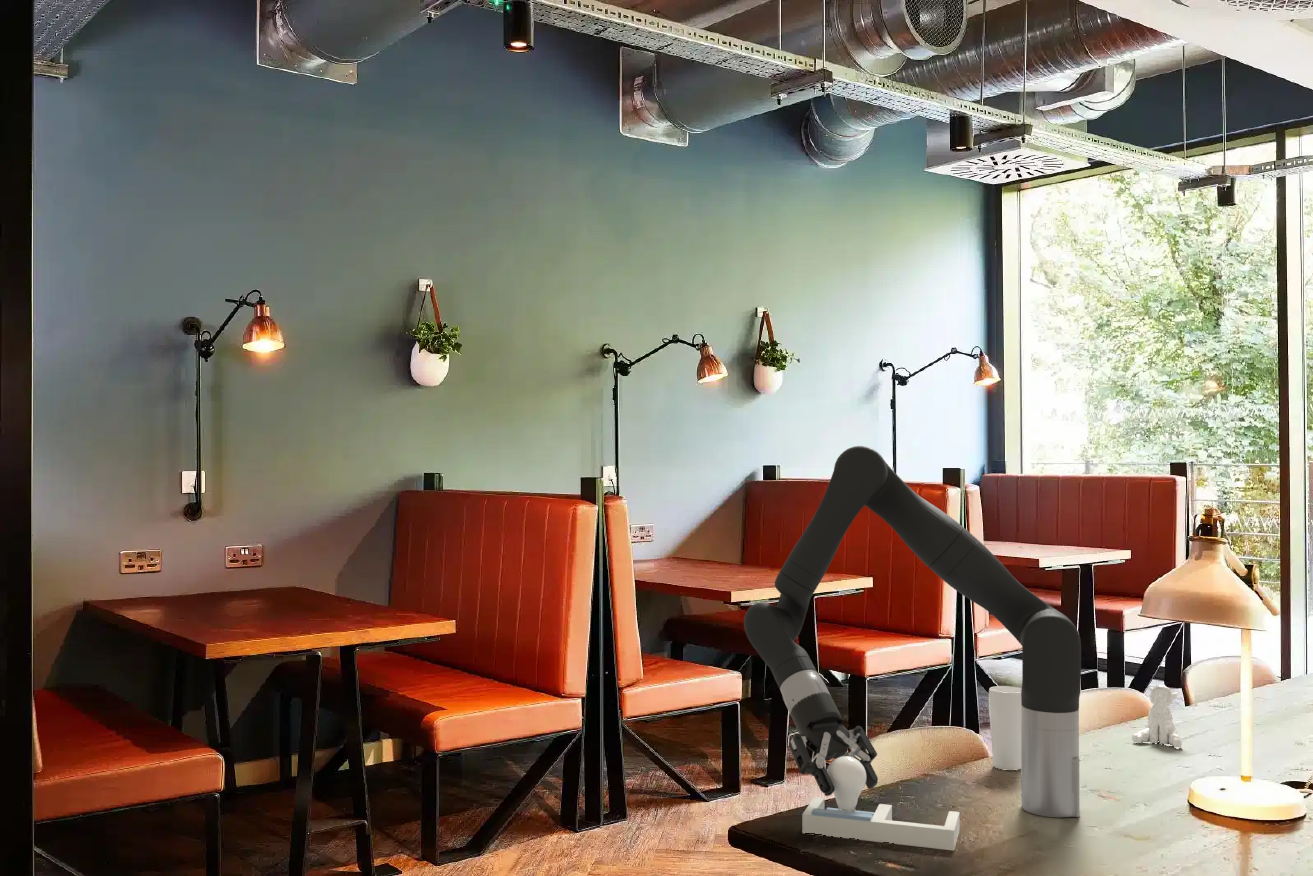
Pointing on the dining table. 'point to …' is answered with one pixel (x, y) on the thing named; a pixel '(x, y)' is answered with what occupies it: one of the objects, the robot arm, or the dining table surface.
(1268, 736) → the dining table surface
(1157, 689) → the white creature statuette
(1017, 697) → the drinking glass
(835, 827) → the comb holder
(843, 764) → the lightbulb
